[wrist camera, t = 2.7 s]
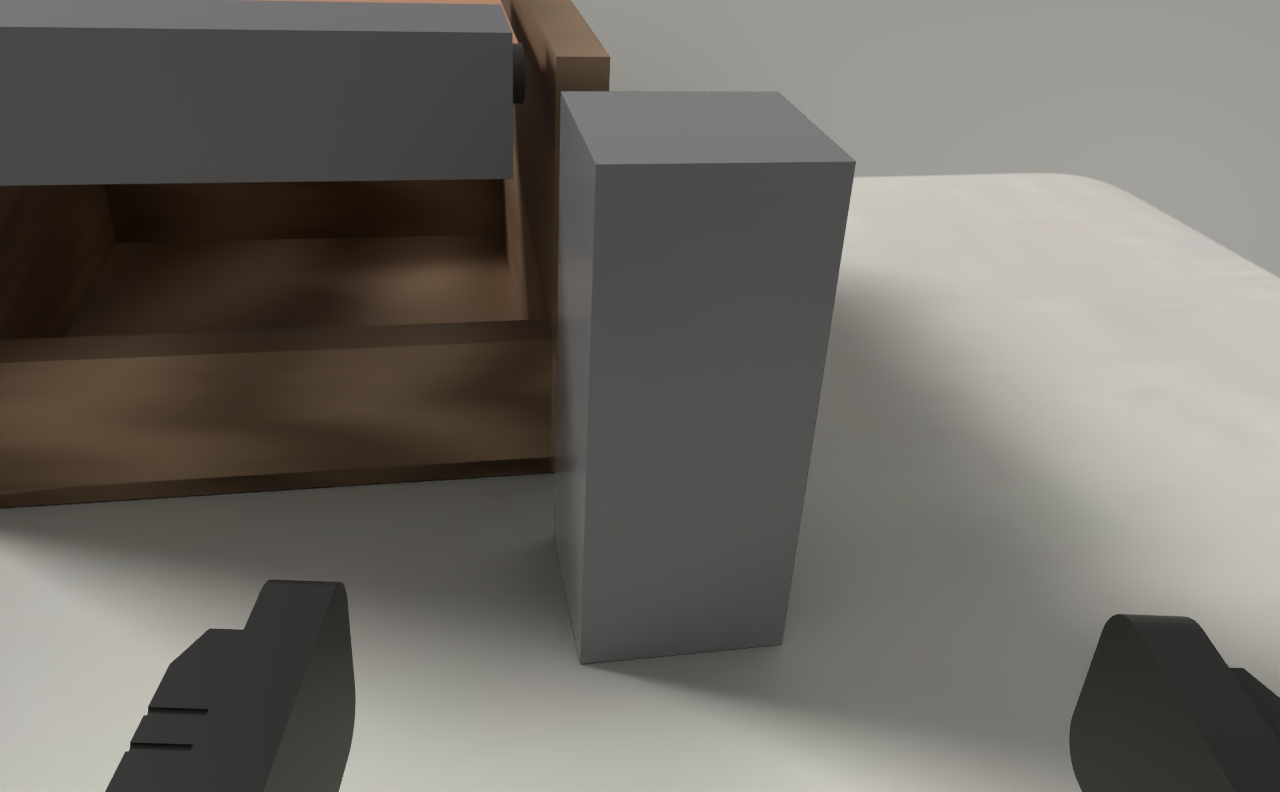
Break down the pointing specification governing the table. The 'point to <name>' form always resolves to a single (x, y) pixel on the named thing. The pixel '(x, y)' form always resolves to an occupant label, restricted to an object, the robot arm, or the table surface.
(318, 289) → the walnut frame
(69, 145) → the trapdoor
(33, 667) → the table surface
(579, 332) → the basalt block
